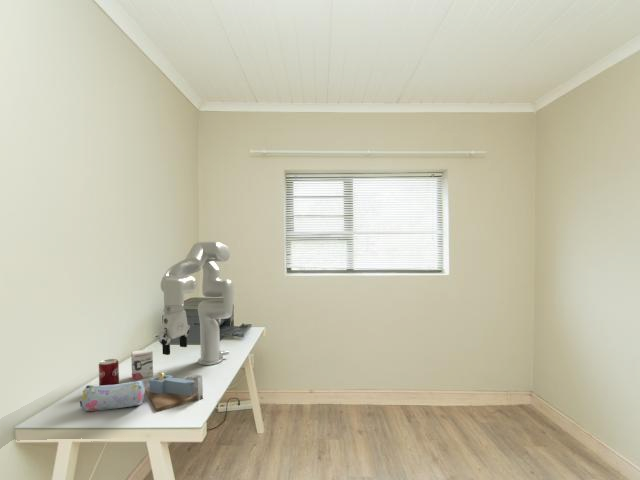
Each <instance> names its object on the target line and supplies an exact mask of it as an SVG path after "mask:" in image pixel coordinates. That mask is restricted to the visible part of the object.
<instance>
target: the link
mask: <svg viewBox="0 0 640 480" xmlns="http://www.w3.org/2000/svg"><path fill="white" fill-rule="evenodd" d="M185 379H186V378H179V377H178V378H177V377H174V375H169V374H164V379H163V380H158V375H156V376H154V377H153V378H151V379H149V380H148V388H149V392H151V393H157V394H163V393H172V394H178V395H184V396H192V395H194V381H192V380H185Z"/></svg>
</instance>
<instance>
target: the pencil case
mask: <svg viewBox="0 0 640 480" xmlns="http://www.w3.org/2000/svg"><path fill="white" fill-rule="evenodd" d="M145 388H146V387H145V383H144V381H143V380H137V381H136V380H135V381H129V382H123V383H119V384H116V385H102V386H99V385H94V384H93V385H92V384H87V385H86V386H85V388H84V389H83V390H82V396H81V400H79V404H80V407H81V409H82V410H83V411H84V412H95V411H96V412H98V411H105V410H106V411H107V410H113V409H123V408H127V407H128V408H129V407H130V408H131V407H136V406H141V405H142V403H143V400H144V397H145V394H146V391H145Z"/></svg>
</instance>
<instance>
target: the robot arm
mask: <svg viewBox="0 0 640 480" xmlns="http://www.w3.org/2000/svg"><path fill="white" fill-rule="evenodd" d="M230 257H231V251H230V247H228V245H226V244H224V243H222V242H219V241H198V242H196V243H194V244H193V245H192V246H191V249H190V250H189V252H188V254H187V255H186V257H185V258H184V259H183V260H181V261H178V262H176V263H175V264H174V265H172V266H170V267H169V268H168V269H167V270H166V272H165V273H164V275H163V277H162V278H161V281H160V290H161V291H162V292H163V315H162V316H163V317H162V325H161V332H160V333H159V334H158V335H157V339H158V342H159V343H160V345H162V346H161V347H162V355H165V356H170V355H171V345H170V342H171V340H175V339H177V338H179V347H180V348H187V347H188V339H187V338H188V337H189V336H188V335H189V333H190V328H191V325H190V324H188V317H187V312H186V310H185V299H184V298H185V297H184V296H185V294H190V293H191V294H192V293H193V292H194V291H195V290H196V288H197V285H198V284H197V280H196V278H195V277H194V276H191V275H192V274H195V273H198V272H200V271H201V270H202V286H201V293H202V296H204V297H205V298H214V299H209V300H208V299H206V300H202V301H201V302H199V304H198V306H197V314H198V319H199V333H200V334H199V335H200V341H199V342H200V357H199V358H198V359H197V364H198V365H201V366H211V365H216V364H219V363H222V362H223V361H224V357H223V356H227V355H229V354H230V351H229V350H220V348H221V347H220V345H221V343H220V340H221V339H220V325H219V323H218V322H217V320H221V319H222V320H223V319H225V320H226V319H230V318H231V317H232V315H233V311H234V309H233V308H234V284H233V281H232V280H230V279H228V278H225V279H224V278H222V279H220V278H221V277H220V275H221V273H220V272H221V270H220V268H219V266H218V264H217V263H218V262H219V263H221V262H223V263H224V262H227V261H229V259H230ZM216 262H217V263H216ZM215 298H222V299H220V300H219V299H215Z"/></svg>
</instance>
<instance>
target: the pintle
mask: <svg viewBox="0 0 640 480" xmlns="http://www.w3.org/2000/svg"><path fill="white" fill-rule="evenodd" d="M164 375H165V374H164V372H159V373H158V374H157V376H158V380H163V379H164Z"/></svg>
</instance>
